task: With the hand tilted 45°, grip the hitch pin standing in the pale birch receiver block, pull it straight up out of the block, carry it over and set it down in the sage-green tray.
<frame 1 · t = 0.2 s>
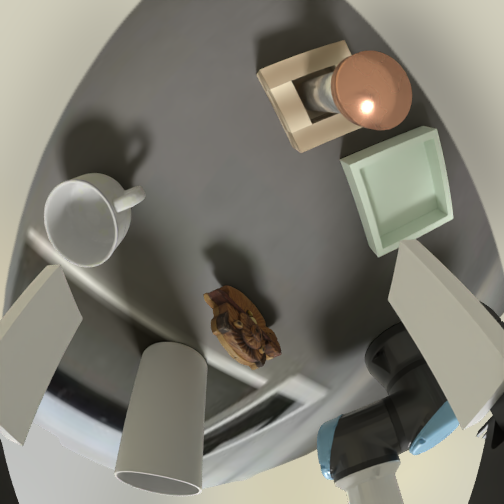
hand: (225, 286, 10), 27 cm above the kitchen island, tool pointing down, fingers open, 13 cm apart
wooden carving: (245, 306, 45), on the kitchen island
cylinder vase: (174, 361, 51), on the kitchen island
teacup: (112, 200, 36), on the kitchen island
tray: (397, 186, 37), on the kitchen island
hitch pin: (314, 94, 30), point 1 cm above the kitchen island, touching receiver block
receiver block: (311, 95, 31), on the kitchen island
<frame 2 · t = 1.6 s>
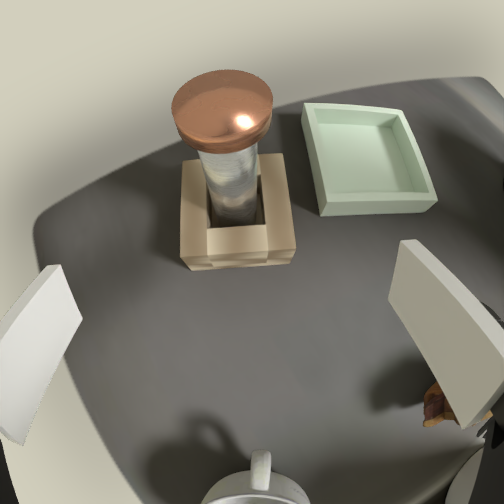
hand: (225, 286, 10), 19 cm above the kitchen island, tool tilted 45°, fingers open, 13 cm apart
wooden carving: (454, 379, 26), on the kitchen island
cylinder vase: (475, 479, 20), on the kitchen island
teacup: (257, 486, 23), on the kitchen island
tray: (363, 163, 34), on the kitchen island
hitch pin: (236, 217, 30), point 1 cm above the kitchen island, touching receiver block
receiver block: (237, 221, 31), on the kitchen island
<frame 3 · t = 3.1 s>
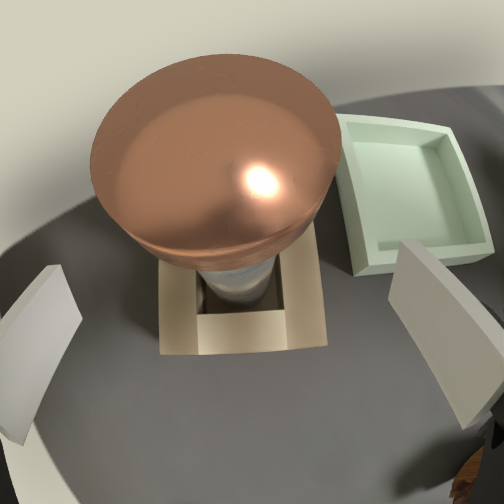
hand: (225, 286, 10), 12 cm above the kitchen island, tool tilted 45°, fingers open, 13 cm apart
wooden carving: (483, 451, 17), on the kitchen island
tray: (406, 198, 25), on the kitchen island
hitch pin: (240, 282, 22), point 1 cm above the kitchen island, touching receiver block
receiver block: (241, 285, 23), on the kitchen island
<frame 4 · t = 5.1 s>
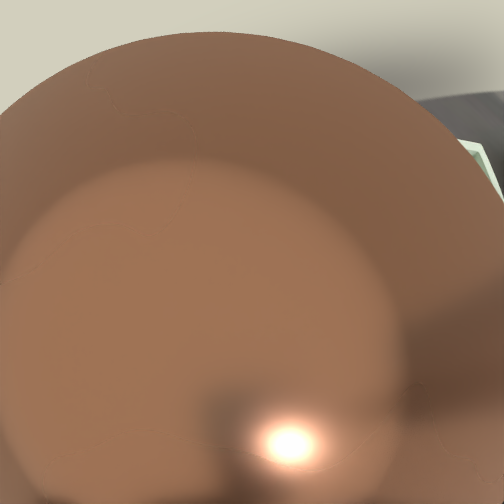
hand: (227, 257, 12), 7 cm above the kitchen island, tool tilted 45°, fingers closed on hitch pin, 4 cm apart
tray: (434, 229, 20), on the kitchen island
hitch pin: (239, 347, 17), point 1 cm above the kitchen island, touching gripper, receiver block
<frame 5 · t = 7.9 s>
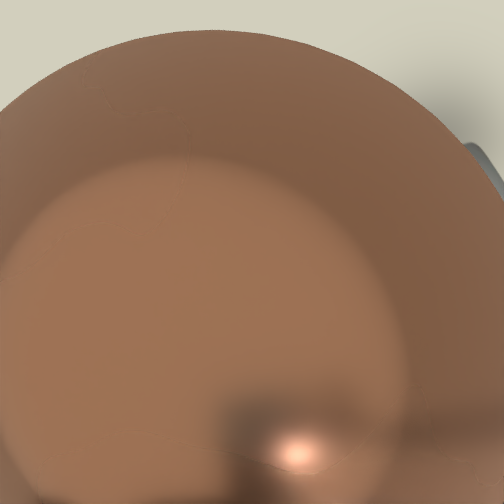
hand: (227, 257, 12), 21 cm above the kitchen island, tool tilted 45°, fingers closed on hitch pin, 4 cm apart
hitch pin: (239, 347, 17), point 15 cm above the kitchen island, touching gripper
when the fingers open (8 cm above the kitchen island, at t = 11.1 s): hitch pin drops 1 cm, resting on tray.
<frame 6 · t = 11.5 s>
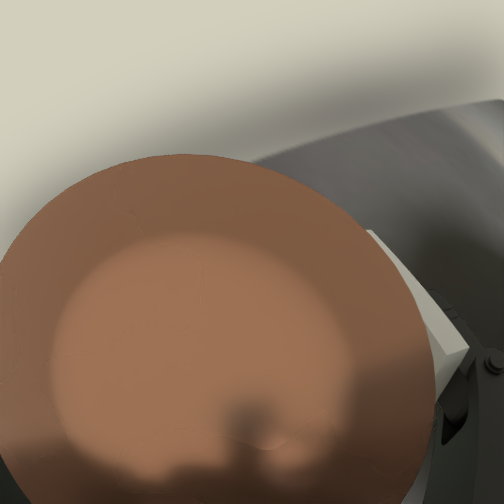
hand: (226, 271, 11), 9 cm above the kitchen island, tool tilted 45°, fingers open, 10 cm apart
hitch pin: (241, 347, 18), point 1 cm above the kitchen island, touching tray
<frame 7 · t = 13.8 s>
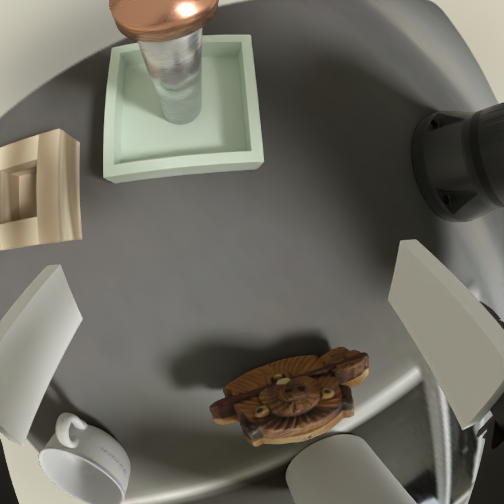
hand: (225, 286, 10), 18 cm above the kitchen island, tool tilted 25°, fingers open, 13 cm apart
wooden carving: (281, 369, 30), on the kitchen island
cylinder vase: (325, 462, 33), on the kitchen island
teacup: (94, 434, 27), on the kitchen island
tray: (181, 108, 26), on the kitchen island
hitch pin: (181, 106, 25), point 1 cm above the kitchen island, touching tray
receiver block: (41, 197, 24), on the kitchen island
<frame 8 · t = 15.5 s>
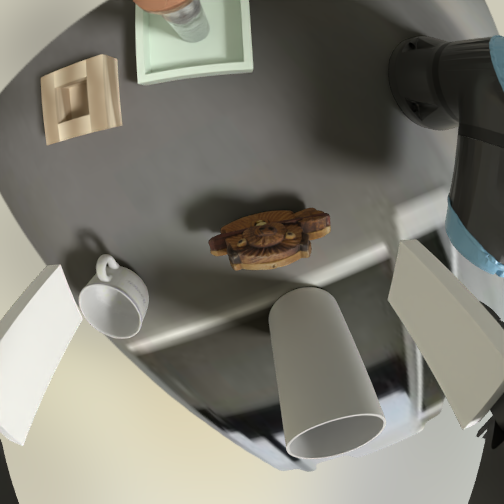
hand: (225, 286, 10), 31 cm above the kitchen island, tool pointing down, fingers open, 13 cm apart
wooden carving: (266, 220, 42), on the kitchen island
cylinder vase: (302, 313, 51), on the kitchen island
teacup: (124, 276, 46), on the kitchen island
tray: (194, 30, 29), on the kitchen island
hitch pin: (194, 29, 28), point 1 cm above the kitchen island, touching tray
receiver block: (88, 99, 32), on the kitchen island
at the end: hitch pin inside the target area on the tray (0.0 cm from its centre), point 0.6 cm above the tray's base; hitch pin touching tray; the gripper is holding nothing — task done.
